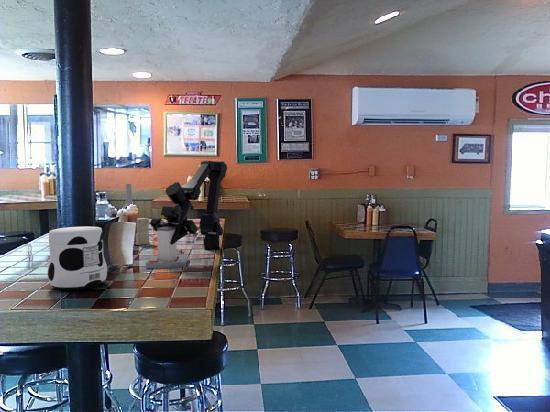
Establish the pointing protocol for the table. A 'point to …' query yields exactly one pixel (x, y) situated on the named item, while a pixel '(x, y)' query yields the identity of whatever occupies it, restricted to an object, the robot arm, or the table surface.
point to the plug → (166, 244)
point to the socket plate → (167, 262)
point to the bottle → (128, 196)
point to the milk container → (76, 258)
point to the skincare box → (142, 231)
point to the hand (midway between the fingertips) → (165, 243)
